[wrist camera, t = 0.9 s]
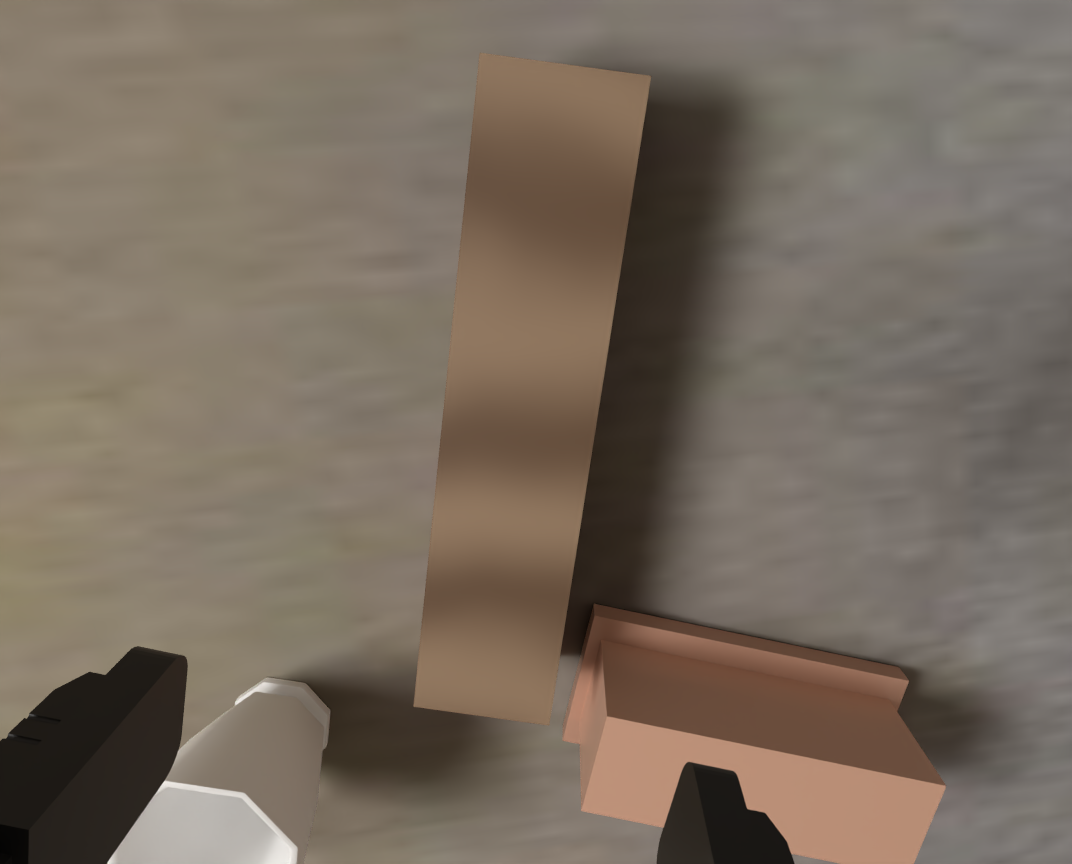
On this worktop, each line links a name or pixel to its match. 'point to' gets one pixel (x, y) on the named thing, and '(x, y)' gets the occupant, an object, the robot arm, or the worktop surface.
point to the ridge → (750, 734)
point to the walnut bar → (525, 377)
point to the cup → (239, 785)
